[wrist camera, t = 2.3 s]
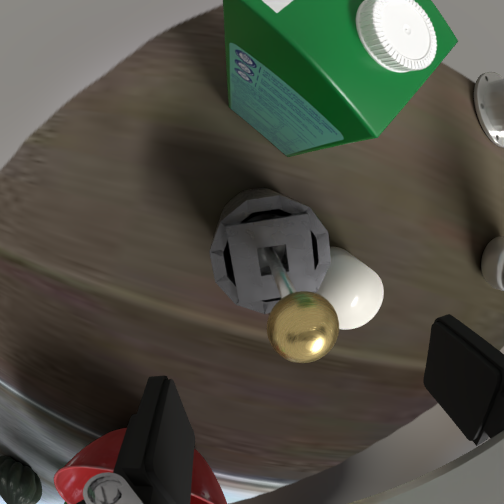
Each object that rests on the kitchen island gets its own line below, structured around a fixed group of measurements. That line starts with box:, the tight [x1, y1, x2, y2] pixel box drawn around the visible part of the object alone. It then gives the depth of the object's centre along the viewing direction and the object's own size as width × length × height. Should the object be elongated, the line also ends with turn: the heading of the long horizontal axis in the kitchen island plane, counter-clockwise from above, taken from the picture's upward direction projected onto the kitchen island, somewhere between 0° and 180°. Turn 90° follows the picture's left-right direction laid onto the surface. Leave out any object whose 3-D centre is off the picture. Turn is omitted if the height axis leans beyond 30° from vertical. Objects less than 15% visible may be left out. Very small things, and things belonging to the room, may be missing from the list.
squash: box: [0, 456, 42, 504], centre depth 42 cm, size 14×15×15 cm
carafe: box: [210, 188, 331, 314], centre depth 30 cm, size 9×12×13 cm
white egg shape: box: [315, 247, 384, 329], centre depth 34 cm, size 7×7×8 cm
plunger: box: [246, 213, 339, 363], centre depth 20 cm, size 6×6×16 cm
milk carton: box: [223, 0, 458, 157], centre depth 20 cm, size 9×9×25 cm
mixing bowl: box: [54, 428, 227, 504], centre depth 37 cm, size 28×28×15 cm
